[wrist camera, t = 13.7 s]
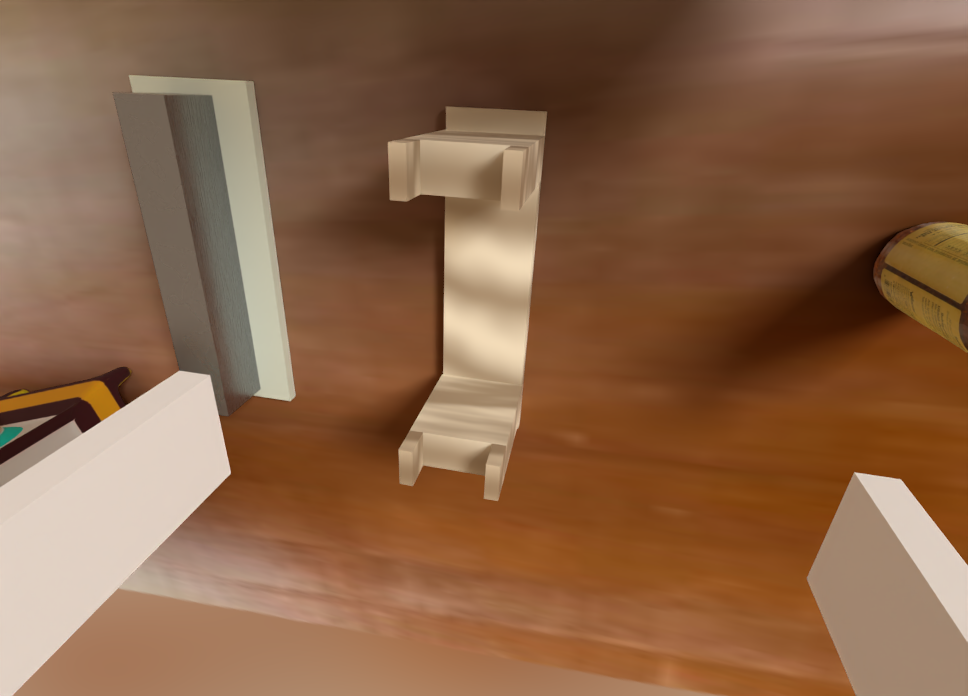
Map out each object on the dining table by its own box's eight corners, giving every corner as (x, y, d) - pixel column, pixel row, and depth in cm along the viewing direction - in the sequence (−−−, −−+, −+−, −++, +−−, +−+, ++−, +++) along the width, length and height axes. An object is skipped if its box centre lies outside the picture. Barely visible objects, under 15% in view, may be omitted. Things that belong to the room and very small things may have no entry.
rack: (449, 106, 38) (386, 110, 27) (548, 111, 37) (525, 118, 26) (445, 410, 49) (400, 499, 38) (520, 421, 48) (496, 517, 37)
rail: (165, 92, 41) (112, 92, 36) (211, 95, 40) (163, 95, 36) (224, 383, 52) (189, 409, 48) (260, 388, 52) (228, 416, 47)
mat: (138, 75, 42) (128, 74, 41) (253, 81, 40) (245, 80, 39) (205, 382, 54) (199, 387, 53) (295, 396, 52) (290, 401, 51)
